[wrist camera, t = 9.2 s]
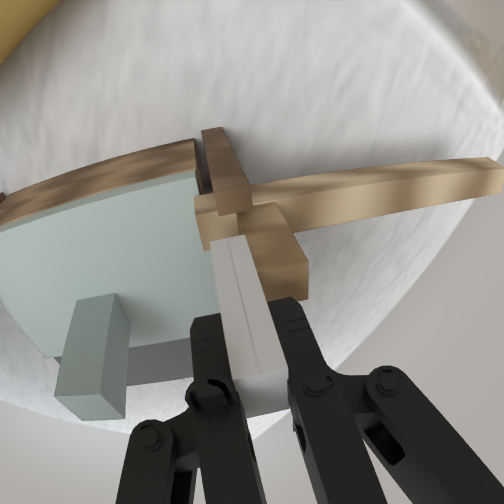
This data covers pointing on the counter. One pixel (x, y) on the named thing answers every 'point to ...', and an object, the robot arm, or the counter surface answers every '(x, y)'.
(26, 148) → the counter surface
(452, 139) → the counter surface
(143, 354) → the mat
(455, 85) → the counter surface
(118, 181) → the wooden rack
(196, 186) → the lid
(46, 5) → the yellow clevis bracket
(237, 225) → the key
